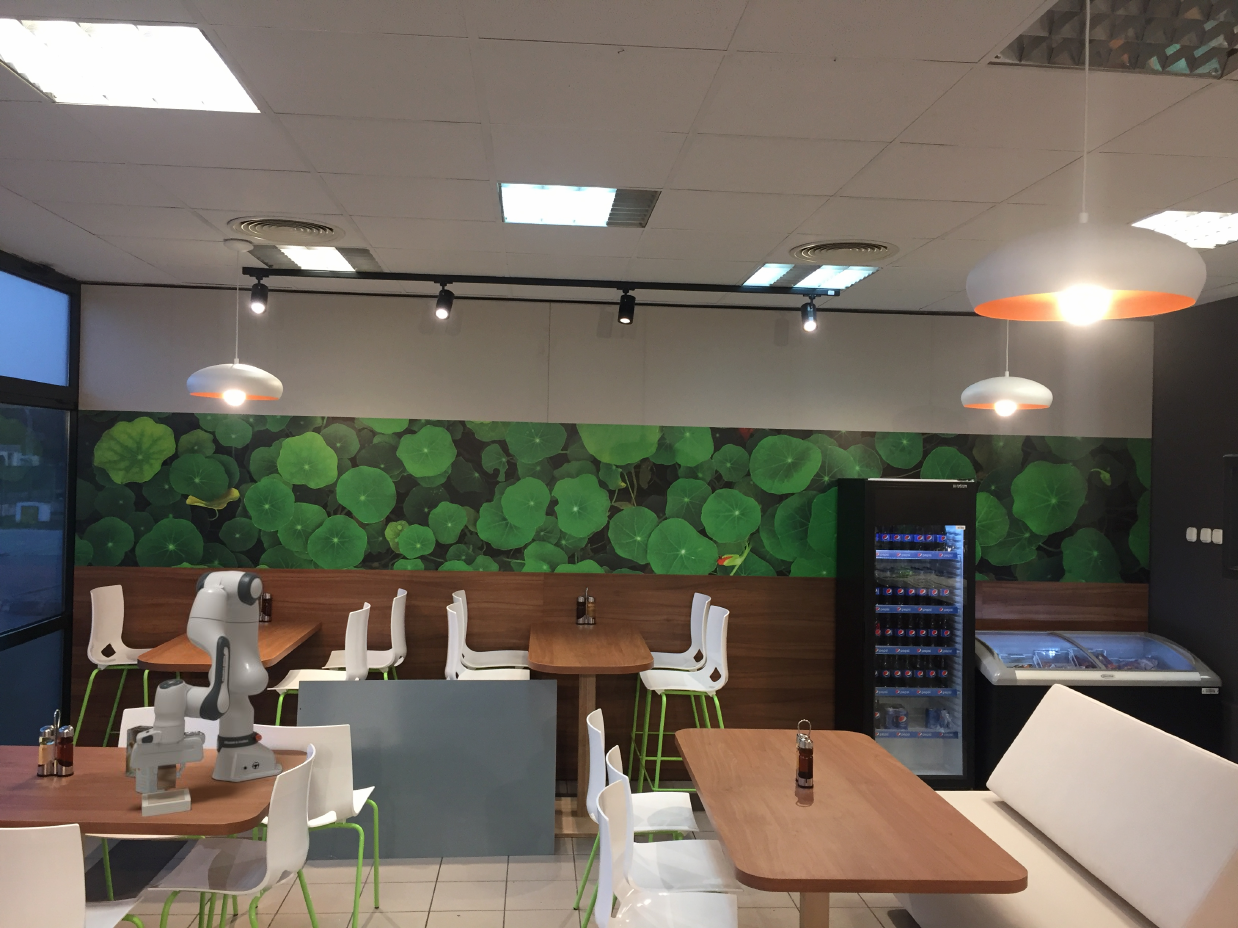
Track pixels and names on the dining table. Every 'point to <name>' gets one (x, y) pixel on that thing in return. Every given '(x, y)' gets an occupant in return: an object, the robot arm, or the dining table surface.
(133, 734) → the coffee box
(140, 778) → the small box
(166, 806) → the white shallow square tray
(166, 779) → the walnut block
